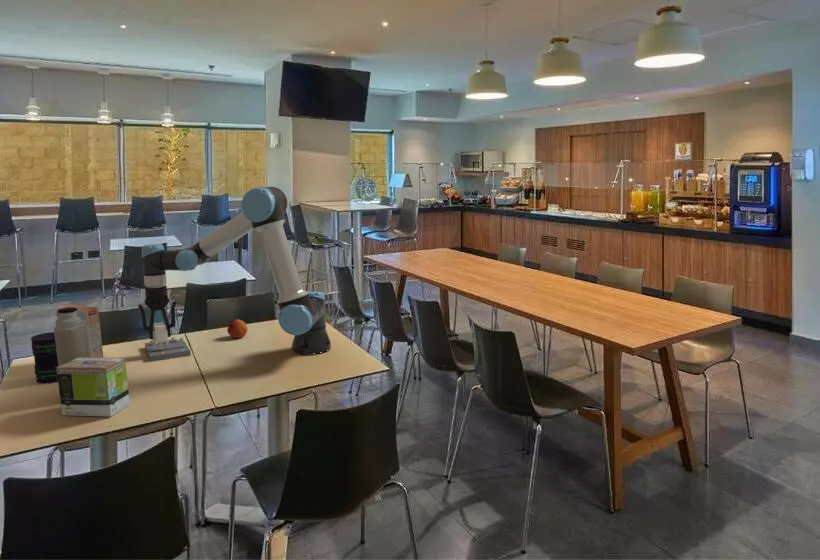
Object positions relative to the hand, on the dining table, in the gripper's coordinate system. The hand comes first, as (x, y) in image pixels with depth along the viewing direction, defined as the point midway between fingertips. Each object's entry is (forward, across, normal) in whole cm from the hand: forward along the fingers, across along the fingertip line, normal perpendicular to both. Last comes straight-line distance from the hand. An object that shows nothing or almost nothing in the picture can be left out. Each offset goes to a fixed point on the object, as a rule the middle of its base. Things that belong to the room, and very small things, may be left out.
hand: (161, 346), depth 218 cm
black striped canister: (+4, +35, +9) cm, 36 cm away
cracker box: (+4, +26, -5) cm, 27 cm away
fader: (+1, 0, 0) cm, 1 cm away
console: (+4, -2, -4) cm, 6 cm away
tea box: (+4, +23, +47) cm, 52 cm away
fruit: (+4, -31, -10) cm, 33 cm away
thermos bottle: (+4, +28, +32) cm, 43 cm away
